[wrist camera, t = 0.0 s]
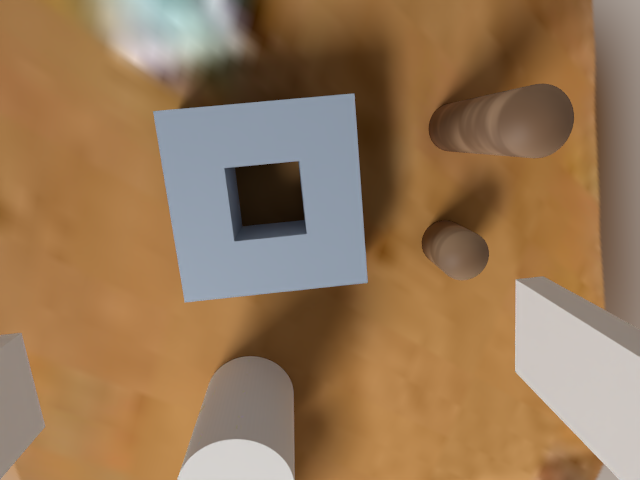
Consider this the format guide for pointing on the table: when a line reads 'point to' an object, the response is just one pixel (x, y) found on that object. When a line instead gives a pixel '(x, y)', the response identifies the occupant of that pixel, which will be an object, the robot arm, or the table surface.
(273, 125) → the socket block
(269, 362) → the cup
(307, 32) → the table surface
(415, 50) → the table surface
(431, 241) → the short dowel
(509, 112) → the long dowel
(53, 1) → the table surface
